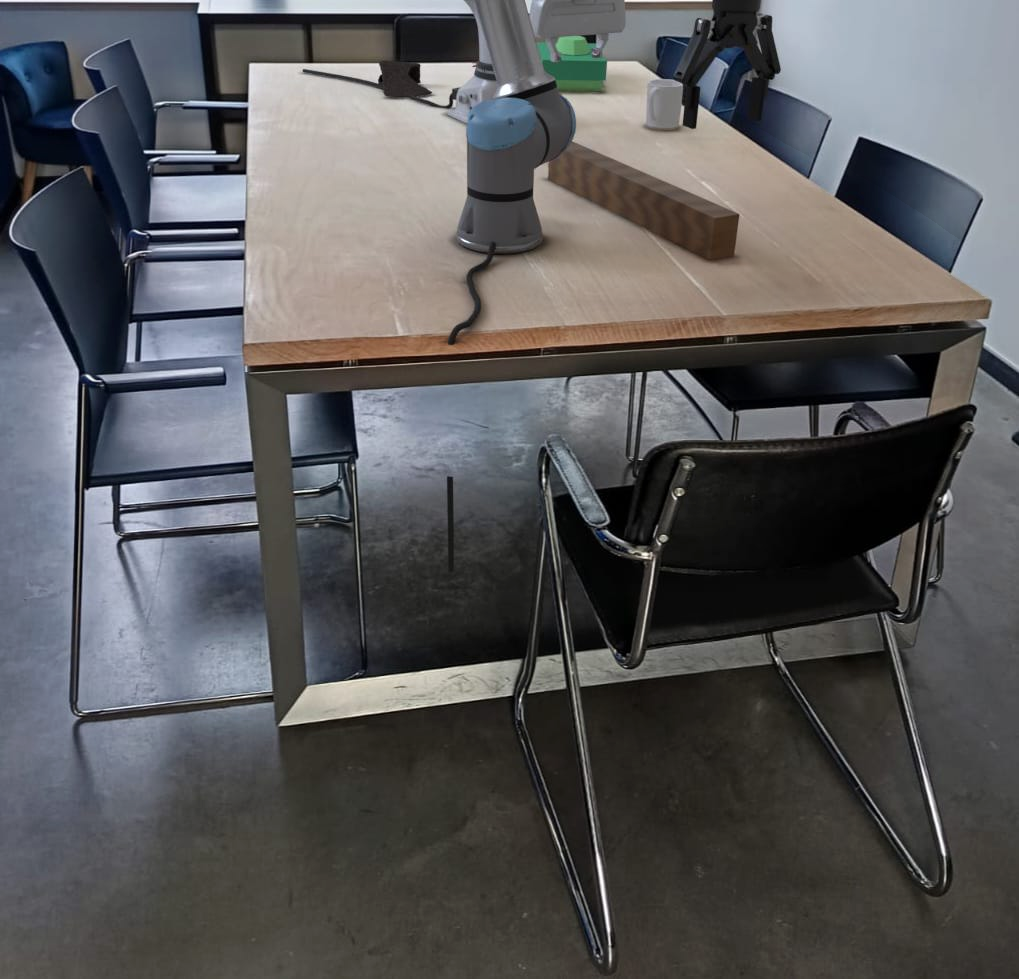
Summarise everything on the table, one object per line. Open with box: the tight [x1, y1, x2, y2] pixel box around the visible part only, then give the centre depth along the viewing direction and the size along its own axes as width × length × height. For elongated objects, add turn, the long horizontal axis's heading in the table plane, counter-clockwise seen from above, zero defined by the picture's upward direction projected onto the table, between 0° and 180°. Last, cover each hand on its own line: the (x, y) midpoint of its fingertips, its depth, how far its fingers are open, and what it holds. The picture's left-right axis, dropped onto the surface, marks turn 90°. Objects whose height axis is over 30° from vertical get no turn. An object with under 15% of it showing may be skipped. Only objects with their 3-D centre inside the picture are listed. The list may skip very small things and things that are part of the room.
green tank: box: [536, 35, 608, 92], centre depth 314 cm, size 18×12×35 cm
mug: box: [645, 78, 683, 131], centre depth 268 cm, size 11×9×10 cm
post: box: [547, 140, 740, 261], centre depth 209 cm, size 55×5×8 cm, turn 29°
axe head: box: [377, 59, 433, 99], centre depth 299 cm, size 18×8×15 cm
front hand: (722, 123), depth 182 cm, fingers open, 13 cm apart
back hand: (576, 59), depth 215 cm, fingers open, 8 cm apart
